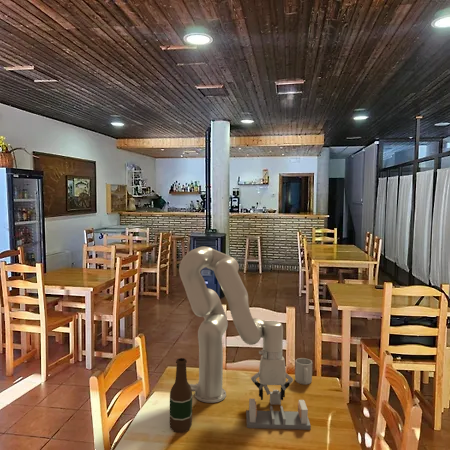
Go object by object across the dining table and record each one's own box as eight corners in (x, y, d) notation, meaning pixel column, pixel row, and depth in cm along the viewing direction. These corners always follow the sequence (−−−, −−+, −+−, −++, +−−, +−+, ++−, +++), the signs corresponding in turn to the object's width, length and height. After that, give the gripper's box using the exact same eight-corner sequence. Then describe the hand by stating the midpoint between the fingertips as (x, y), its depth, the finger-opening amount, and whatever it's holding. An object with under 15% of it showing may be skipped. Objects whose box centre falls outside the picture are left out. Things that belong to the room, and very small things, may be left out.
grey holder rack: (247, 427, 141) (247, 409, 140) (246, 414, 150) (246, 397, 149) (310, 429, 140) (311, 411, 140) (305, 415, 149) (306, 398, 149)
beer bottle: (182, 436, 135) (183, 365, 134) (164, 428, 139) (165, 360, 138) (196, 425, 142) (197, 358, 140) (179, 418, 146) (179, 353, 144)
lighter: (280, 402, 159) (280, 382, 158) (281, 404, 157) (281, 384, 157) (262, 402, 159) (262, 382, 158) (262, 404, 157) (263, 384, 156)
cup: (309, 377, 182) (310, 358, 181) (314, 387, 172) (315, 367, 171) (293, 377, 182) (294, 357, 181) (297, 387, 172) (298, 367, 171)
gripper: (250, 357, 153) (249, 402, 154) (296, 358, 153) (295, 403, 154) (249, 349, 161) (249, 393, 162) (293, 350, 160) (292, 394, 161)
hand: (271, 398), depth 158 cm, fingers closed on lighter, 7 cm apart
